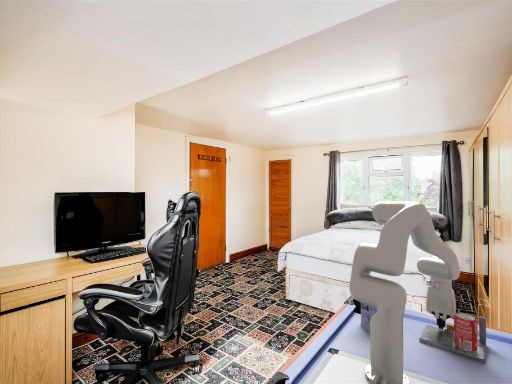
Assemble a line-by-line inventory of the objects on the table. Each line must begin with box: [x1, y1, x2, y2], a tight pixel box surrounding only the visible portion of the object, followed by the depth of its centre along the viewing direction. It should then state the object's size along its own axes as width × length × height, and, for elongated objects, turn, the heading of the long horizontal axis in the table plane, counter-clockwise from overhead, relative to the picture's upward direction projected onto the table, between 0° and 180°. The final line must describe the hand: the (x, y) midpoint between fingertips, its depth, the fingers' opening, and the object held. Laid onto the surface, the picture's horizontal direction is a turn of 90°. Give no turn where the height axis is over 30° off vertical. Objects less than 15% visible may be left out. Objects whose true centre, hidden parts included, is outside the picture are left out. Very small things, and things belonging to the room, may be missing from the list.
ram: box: [442, 321, 454, 348], centre depth 105 cm, size 15×3×4 cm, turn 137°
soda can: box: [453, 312, 479, 352], centre depth 99 cm, size 7×7×12 cm
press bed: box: [418, 315, 487, 364], centre depth 104 cm, size 16×20×11 cm
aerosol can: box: [360, 302, 378, 332], centre depth 118 cm, size 8×8×20 cm
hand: (441, 327), depth 112 cm, fingers closed
